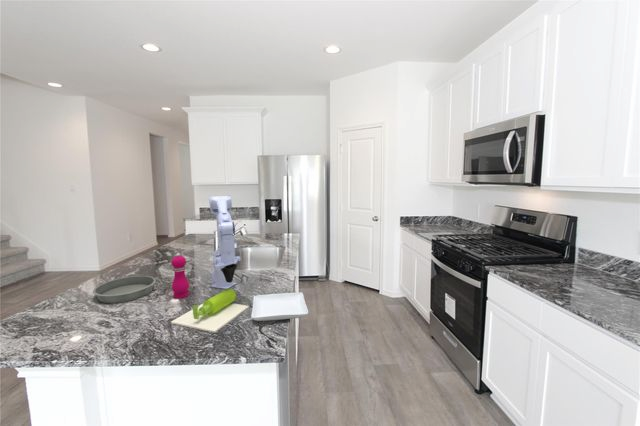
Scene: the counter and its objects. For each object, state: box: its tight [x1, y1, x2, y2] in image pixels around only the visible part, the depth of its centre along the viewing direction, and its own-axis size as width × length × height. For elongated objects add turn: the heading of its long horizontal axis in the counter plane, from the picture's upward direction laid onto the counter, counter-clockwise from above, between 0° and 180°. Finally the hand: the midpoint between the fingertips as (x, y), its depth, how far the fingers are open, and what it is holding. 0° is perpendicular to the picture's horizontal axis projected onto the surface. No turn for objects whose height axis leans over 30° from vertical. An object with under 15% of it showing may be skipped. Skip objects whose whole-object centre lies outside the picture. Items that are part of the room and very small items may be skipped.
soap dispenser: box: [192, 287, 237, 319], centre depth 120 cm, size 6×7×20 cm
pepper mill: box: [170, 252, 190, 299], centre depth 136 cm, size 7×7×20 cm
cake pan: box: [92, 275, 156, 304], centre depth 141 cm, size 25×25×4 cm
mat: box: [170, 302, 250, 334], centre depth 119 cm, size 20×21×1 cm
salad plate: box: [250, 291, 309, 322], centre depth 122 cm, size 21×21×3 cm
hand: (229, 281), depth 128 cm, fingers closed
